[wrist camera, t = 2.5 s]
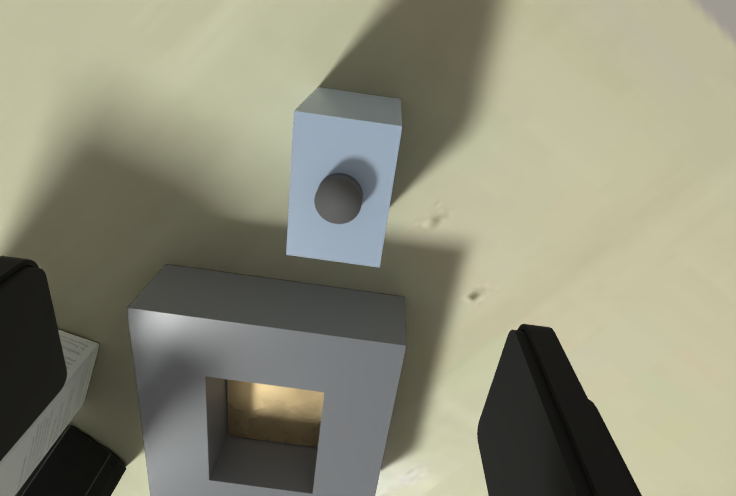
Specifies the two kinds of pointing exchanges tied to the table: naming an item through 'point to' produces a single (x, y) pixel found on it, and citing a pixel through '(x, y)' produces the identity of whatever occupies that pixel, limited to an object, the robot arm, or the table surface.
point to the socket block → (263, 384)
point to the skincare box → (51, 415)
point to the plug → (342, 175)
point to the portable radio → (74, 469)
